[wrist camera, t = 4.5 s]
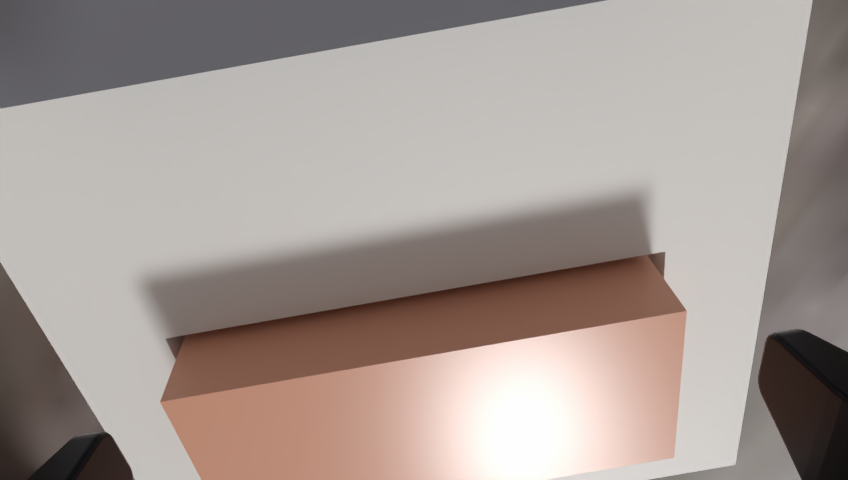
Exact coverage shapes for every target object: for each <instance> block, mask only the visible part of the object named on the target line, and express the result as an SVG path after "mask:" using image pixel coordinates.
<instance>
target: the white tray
mask: <svg viewBox="0 0 848 480" xmlns="http://www.w3.org/2000/svg"><path fill="white" fill-rule="evenodd" d="M812 1H813V0H606V1H600V2H594V3H589V4H583V5H578V6H572V7H567V8H561V9H555V10H550V11H544V12H539V13H533V14H527V15H522V16H516V17H511V18H505V19H499V20H494V21H488V22H483V23H477V24H471V25H466V26H460V27H455V28H449V29H444V30H438V31H432V32H427V33H421V34H416V35H410V36H404V37H399V38H393V39H388V40H382V41H376V42H371V43H365V44H360V45H354V46H348V47H343V48H337V49H332V50H326V51H320V52H315V53H309V54H304V55H298V56H293V57H287V58H281V59H276V60H270V61H265V62H259V63H253V64H248V65H242V66H237V67H231V68H225V69H220V70H214V71H209V72H203V73H197V74H192V75H186V76H181V77H175V78H170V79H164V80H158V81H153V82H147V83H142V84H136V85H130V86H125V87H119V88H114V89H108V90H102V91H97V92H91V93H86V94H80V95H74V96H69V97H63V98H58V99H52V100H47V101H41V102H35V103H30V104H24V105H19V106H13V107H7V108H2V109H1V108H0V262H1V264H2V265H3V267H4V269H5V270H6V272H7V274H8V275H9V277H10V278H11V280H12V282H13V283H14V285H15V286H16V288H17V290H18V291H19V293H20V295H21V296H22V298H23V299H24V301H25V303H26V304H27V306H28V307H29V309H30V311H31V312H32V314H33V316H34V317H35V319H36V320H37V322H38V324H39V325H40V327H41V328H42V330H43V332H44V333H45V335H46V337H47V338H48V340H49V341H50V343H51V345H52V346H53V348H54V349H55V351H56V353H57V354H58V356H59V358H60V359H61V361H62V362H63V364H64V366H65V367H66V369H67V370H68V372H69V374H70V375H71V377H72V378H73V380H74V382H75V383H76V385H77V387H78V388H79V390H80V391H81V393H82V395H83V396H84V398H85V399H86V401H87V403H88V404H89V406H90V408H91V409H92V411H93V412H94V414H95V416H96V417H97V419H98V420H99V422H100V424H101V425H102V427H103V429H104V430H105V432H107V433H109V434H110V435H111V436H112V437H113V438H114V440H115V442H116V443H117V445H118V447H119V448H120V450H121V452H122V454H123V455H124V457H125V459H126V460H127V462H128V464H129V465H130V467H131V470H132V473H133V477H134V479H135V480H201V478H200V476H199V474H198V473H197V471H196V469H195V467H194V465H193V463H192V461H191V459H190V457H189V456H188V454H187V452H186V450H185V448H184V446H183V444H182V442H181V441H180V439H179V437H178V435H177V433H176V431H175V429H174V427H173V426H172V424H171V422H170V420H169V418H168V416H167V414H166V412H165V411H164V409H163V407H162V405H161V403H160V401H161V398H162V395H163V393H164V390H165V387H166V385H167V382H168V379H169V377H170V374H171V371H172V369H173V366H174V364H175V361H176V358H177V356H178V353H179V350H180V348H181V345H182V342H183V340H184V337H185V335H189V334H194V333H200V332H206V331H212V330H217V329H223V328H229V327H235V326H240V325H246V324H252V323H257V322H263V321H269V320H275V319H280V318H286V317H292V316H298V315H303V314H309V313H315V312H321V311H326V310H332V309H338V308H344V307H349V306H355V305H361V304H367V303H372V302H378V301H384V300H390V299H395V298H401V297H407V296H413V295H418V294H424V293H430V292H436V291H441V290H447V289H453V288H459V287H464V286H470V285H476V284H482V283H487V282H493V281H499V280H505V279H510V278H516V277H522V276H528V275H533V274H539V273H545V272H551V271H556V270H562V269H568V268H574V267H579V266H585V265H591V264H596V263H602V262H608V261H614V260H619V259H625V258H631V257H637V256H642V255H647V256H648V257H649V259H650V260H651V261H652V263H653V264H654V266H655V267H656V268H657V270H658V271H659V273H660V274H661V275H662V277H663V278H664V280H665V281H666V282H667V284H668V285H669V287H670V288H671V289H672V291H673V292H674V294H675V295H676V296H677V298H678V299H679V301H680V302H681V303H682V305H683V306H684V308H685V309H686V310H687V315H686V327H685V338H684V350H683V361H682V373H681V384H680V396H679V407H678V419H677V430H676V442H675V454H674V458H670V459H664V460H658V461H652V462H646V463H640V464H634V465H629V466H623V467H617V468H611V469H605V470H599V471H593V472H588V473H582V474H576V475H570V476H564V477H558V478H552V479H546V480H648V479H654V478H660V477H666V476H672V475H678V474H683V473H689V472H695V471H701V470H707V469H713V468H719V467H725V466H731V465H735V463H736V457H737V451H738V445H739V439H740V433H741V427H742V421H743V415H744V409H745V403H746V397H747V391H748V385H749V379H750V373H751V367H752V361H753V355H754V349H755V343H756V337H757V331H758V325H759V319H760V313H761V307H762V301H763V295H764V289H765V283H766V277H767V271H768V265H769V259H770V253H771V247H772V241H773V235H774V229H775V223H776V217H777V211H778V205H779V199H780V193H781V187H782V181H783V175H784V169H785V163H786V157H787V151H788V145H789V139H790V133H791V127H792V121H793V115H794V109H795V103H796V97H797V91H798V85H799V79H800V73H801V67H802V61H803V55H804V49H805V43H806V37H807V31H808V25H809V19H810V13H811V7H812Z"/></svg>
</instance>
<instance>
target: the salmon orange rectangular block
mask: <svg viewBox="0 0 848 480" xmlns="http://www.w3.org/2000/svg"><path fill="white" fill-rule="evenodd" d="M686 315H687V310H686V309H685V308H684V306H683V305H682V303H681V302H680V301H679V299H678V298H677V296H676V295H675V294H674V292H673V291H672V289H671V288H670V287H669V285H668V284H667V282H666V281H665V280H664V278H663V277H662V275H661V274H660V273H659V271H658V270H657V268H656V267H655V266H654V264H653V263H652V261H651V260H650V259H649V257H648V256H647V255H642V256H637V257H631V258H625V259H619V260H614V261H608V262H602V263H596V264H591V265H585V266H579V267H574V268H568V269H562V270H556V271H551V272H545V273H539V274H533V275H528V276H522V277H516V278H510V279H505V280H499V281H493V282H487V283H482V284H476V285H470V286H464V287H459V288H453V289H447V290H441V291H436V292H430V293H424V294H418V295H413V296H407V297H401V298H395V299H390V300H384V301H378V302H372V303H367V304H361V305H355V306H349V307H344V308H338V309H332V310H326V311H321V312H315V313H309V314H303V315H298V316H292V317H286V318H280V319H275V320H269V321H263V322H257V323H252V324H246V325H240V326H235V327H229V328H223V329H217V330H212V331H206V332H200V333H194V334H189V335H185V337H184V340H183V342H182V345H181V348H180V350H179V353H178V356H177V358H176V361H175V364H174V366H173V369H172V371H171V374H170V377H169V379H168V382H167V385H166V387H165V390H164V393H163V395H162V398H161V401H160V403H161V405H162V407H163V409H164V411H165V412H166V414H167V416H168V418H169V420H170V422H171V424H172V426H173V427H174V429H175V431H176V433H177V435H178V437H179V439H180V441H181V442H182V444H183V446H184V448H185V450H186V452H187V454H188V456H189V457H190V459H191V461H192V463H193V465H194V467H195V469H196V471H197V473H198V474H199V476H200V478H201V480H546V479H552V478H558V477H564V476H570V475H576V474H582V473H588V472H593V471H599V470H605V469H611V468H617V467H623V466H629V465H634V464H640V463H646V462H652V461H658V460H664V459H670V458H674V454H675V442H676V430H677V419H678V407H679V396H680V384H681V373H682V361H683V350H684V338H685V327H686Z"/></svg>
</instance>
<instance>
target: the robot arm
mask: <svg viewBox="0 0 848 480" xmlns="http://www.w3.org/2000/svg"><path fill="white" fill-rule="evenodd" d="M758 384H759V389H760V392H761V395H762V397H763V399H764V401H765V403H766V406H767V408H768V410H769V412H770V414H771V416H772V418H773V420H774V422H775V425H776V427H777V429H778V431H779V433H780V435H781V437H782V439H783V441H784V444H785V446H786V448H787V450H788V452H789V454H790V456H791V458H792V460H793V463H794V465H795V467H796V469H797V471H798V473H799V475H800V477H801V479H802V480H848V352H846V351H845V350H843V349H841V348H839V347H837V346H835V345H833V344H831V343H829V342H827V341H825V340H823V339H821V338H819V337H817V336H815V335H813V334H811V333H809V332H807V331H804V330H800V329H795V330H788V331H781V332H775V333H772V334H770V335H769V336H768V337H767V339H766V342H765V346H764V351H763V355H762V360H761V365H760V369H759V374H758ZM27 480H133V473H132V470H131V467H130V465H129V464H128V462H127V460H126V459H125V457H124V455H123V454H122V452H121V450H120V448H119V447H118V445H117V443H116V442H115V440H114V438H113V437H112V436H111V435H110V434H109V433H107V432H95V433H89V434H82V435H78V436H75V437H74V438H72V439H71V440H70V441H68V442H67V443H66V444H65V445H64V446H63V447H62V448H61V449H60V450H59V451H58V452H56V453H55V454H54V455H53V456H52V457H51V458H50V459H49V460H48V461H47V462H46V463H45V464H43V465H42V466H41V467H40V468H39V469H38V470H37V471H36V472H35V473H34V474H33V475H31V476H30V477H29V478H28V479H27Z"/></svg>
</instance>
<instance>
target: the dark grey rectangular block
mask: <svg viewBox="0 0 848 480" xmlns="http://www.w3.org/2000/svg"><path fill="white" fill-rule="evenodd" d="M600 1H606V0H0V108H1V109H2V108H7V107H13V106H19V105H24V104H30V103H35V102H41V101H47V100H52V99H58V98H63V97H69V96H74V95H80V94H86V93H91V92H97V91H102V90H108V89H114V88H119V87H125V86H130V85H136V84H142V83H147V82H153V81H158V80H164V79H170V78H175V77H181V76H186V75H192V74H197V73H203V72H209V71H214V70H220V69H225V68H231V67H237V66H242V65H248V64H253V63H259V62H265V61H270V60H276V59H281V58H287V57H293V56H298V55H304V54H309V53H315V52H320V51H326V50H332V49H337V48H343V47H348V46H354V45H360V44H365V43H371V42H376V41H382V40H388V39H393V38H399V37H404V36H410V35H416V34H421V33H427V32H432V31H438V30H444V29H449V28H455V27H460V26H466V25H471V24H477V23H483V22H488V21H494V20H499V19H505V18H511V17H516V16H522V15H527V14H533V13H539V12H544V11H550V10H555V9H561V8H567V7H572V6H578V5H583V4H589V3H594V2H600Z"/></svg>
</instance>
